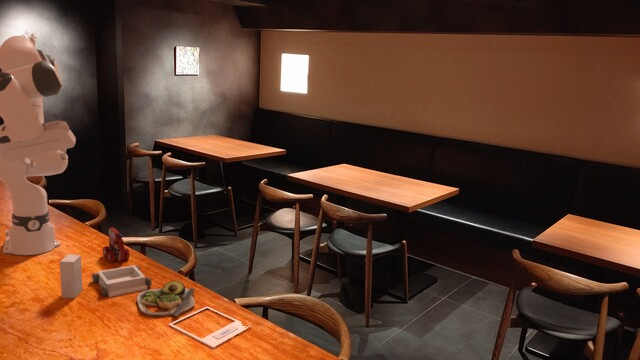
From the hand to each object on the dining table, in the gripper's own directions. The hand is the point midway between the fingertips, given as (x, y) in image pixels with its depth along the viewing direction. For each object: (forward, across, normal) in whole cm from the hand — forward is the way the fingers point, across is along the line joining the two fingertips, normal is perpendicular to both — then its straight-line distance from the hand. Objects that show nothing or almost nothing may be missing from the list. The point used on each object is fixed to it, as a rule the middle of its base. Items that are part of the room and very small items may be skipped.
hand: (49, 162), depth 154 cm
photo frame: (+33, -36, +51) cm, 70 cm away
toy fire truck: (+48, -2, +1) cm, 49 cm away
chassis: (+39, -8, +21) cm, 45 cm away
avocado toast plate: (+37, -23, +35) cm, 56 cm away
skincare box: (+32, +5, +26) cm, 41 cm away
